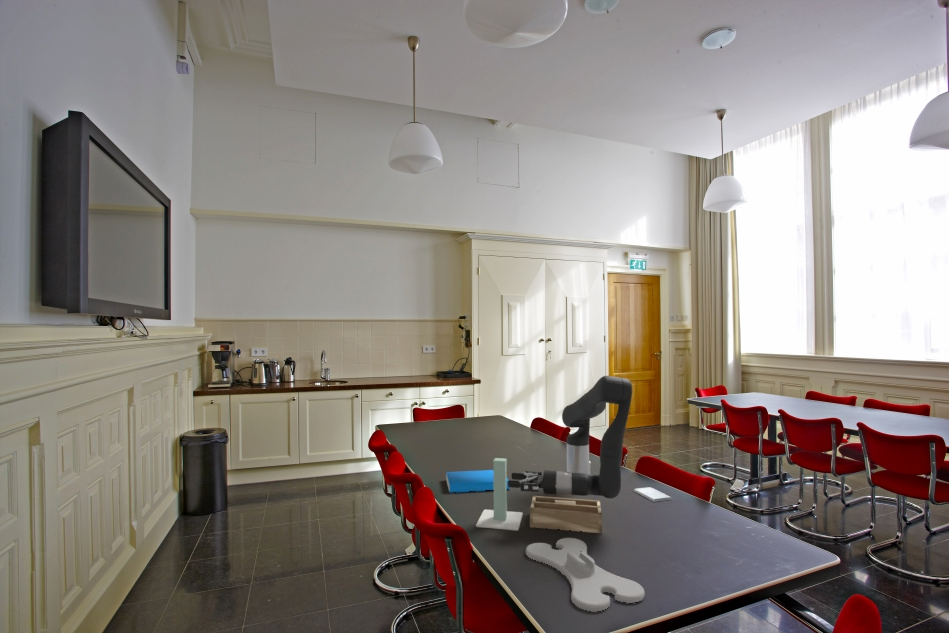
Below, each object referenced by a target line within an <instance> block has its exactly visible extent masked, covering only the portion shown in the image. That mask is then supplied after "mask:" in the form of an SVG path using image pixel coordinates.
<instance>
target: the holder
mask: <svg viewBox="0 0 949 633" xmlns="http://www.w3.org/2000/svg"><path fill="white" fill-rule="evenodd" d="M556 548H559V549H556ZM560 549H561V550H560ZM525 555H527V556H528V557H529V558H528V557H527V556H526V557H527V558H528V559H530V558H531V559H530V560H532V559H533V560H532V561H534V560H536V561H535V562H538V561H539V562H538V563H541V562H543V563H542V564H544V563H545V564H544V565H546V564H548V565H547V566H549V565H550V566H549V567H551V566H552V567H551V568H553V567H554V568H556V569H557V570H556V569H555V570H556V571H558V570H559V571H560V572H561V575H563V576H564V575H565V576H566V577H567V578H566V577H565V576H564V577H565V578H566V579H568V580H569V581H568V580H567V581H568V583H569V582H570V583H569V584H571V585H570V587H571V593H570V600H571V603H572V604H573V603H574V604H575V605H576V606H577V607H576V606H575V605H574V604H573V605H574V606H575V607H576V608H578V607H579V608H578V609H580V608H581V609H580V610H582V609H584V610H583V611H585V610H587V611H586V612H589V611H591V612H590V613H598V612H597V611H601V612H603V611H602V610H604V611H606V610H608V609H609V608H608V607H610V606H611V598H610V595H606V594H605V593H604V592H608V593H607V594H610V593H612V594H611V595H613V596H614V595H615V596H614V600H615V601H616V600H617V602H619V601H620V603H623V602H626V603H625V604H629V603H632V602H638V601H641V600H642V599H643V598H644V599H645V597H646V596H645V595H646V593H645V589H644V588H643V586H642V585H641V584H640V583H639V582H637V581H634V580H631V579H629V578H626V577H622V576H618V575H616V574H614V573H611V572H609V571H606V570H605V569H603V568H602V567H600V566H598V565H597V564H596V562H595V560H594V558H593V557H591V556H590V555H588V546H587V544H586V543H585V541H582V540H581V539H578V538H575V537H563V538H561V539H558V540H557V541H556V543H555V549H554V548H552V545H551V544H550V543H549V544H548V543H545V542H533V543H531V544H528V545H527V546H526V548H525ZM554 568H553V569H554ZM559 571H558V572H559ZM560 572H559V573H560ZM644 596H645V597H644ZM644 599H643V600H644ZM643 600H642V601H643ZM642 601H641V602H642ZM607 608H608V609H607ZM605 609H606V610H605Z"/></svg>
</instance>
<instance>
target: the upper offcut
mask: <svg viewBox="0 0 949 633" xmlns="http://www.w3.org/2000/svg"><path fill="white" fill-rule="evenodd" d="M555 503H562V504H575V505H576V502H575V501H562V500H555Z"/></svg>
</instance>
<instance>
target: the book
mask: <svg viewBox="0 0 949 633" xmlns="http://www.w3.org/2000/svg"><path fill="white" fill-rule="evenodd" d="M445 474H446V476H445V478H446V480H445V481H446V485H447V488H448V491H449V493H450V494H454V492H456V493H469V491H476V492H486V491H485V490H494V479H493V469H488V470H487V469H486V470H464V471H463V470H462V471H461V470H460V471H446V472H445ZM508 480H509V478H508V477H507V489H510V490H511V487H508Z"/></svg>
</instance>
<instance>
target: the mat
mask: <svg viewBox="0 0 949 633" xmlns="http://www.w3.org/2000/svg"><path fill="white" fill-rule="evenodd" d="M523 516H524V513H523V512H520V511H508V510H507V518H506V520H505V521H499V520H494V509H483V511H482V513H481V515H480V517H479V518H478V520H477V522H476V524H475V527H476V528H487V529H495V530H496V529H497V530H505V531H506V530H507V531H519V529H520V525H521V522H522V519H523Z"/></svg>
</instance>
